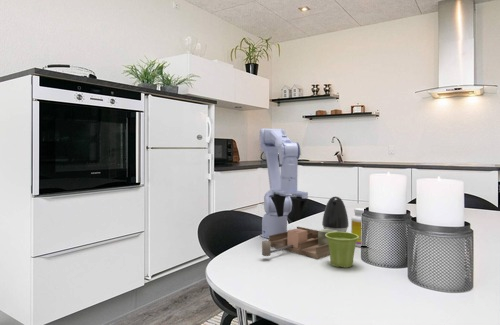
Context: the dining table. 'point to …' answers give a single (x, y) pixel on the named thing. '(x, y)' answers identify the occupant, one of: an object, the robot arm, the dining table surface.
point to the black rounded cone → (335, 215)
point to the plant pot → (341, 248)
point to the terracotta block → (293, 241)
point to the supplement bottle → (357, 224)
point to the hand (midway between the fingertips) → (288, 217)
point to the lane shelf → (305, 243)
